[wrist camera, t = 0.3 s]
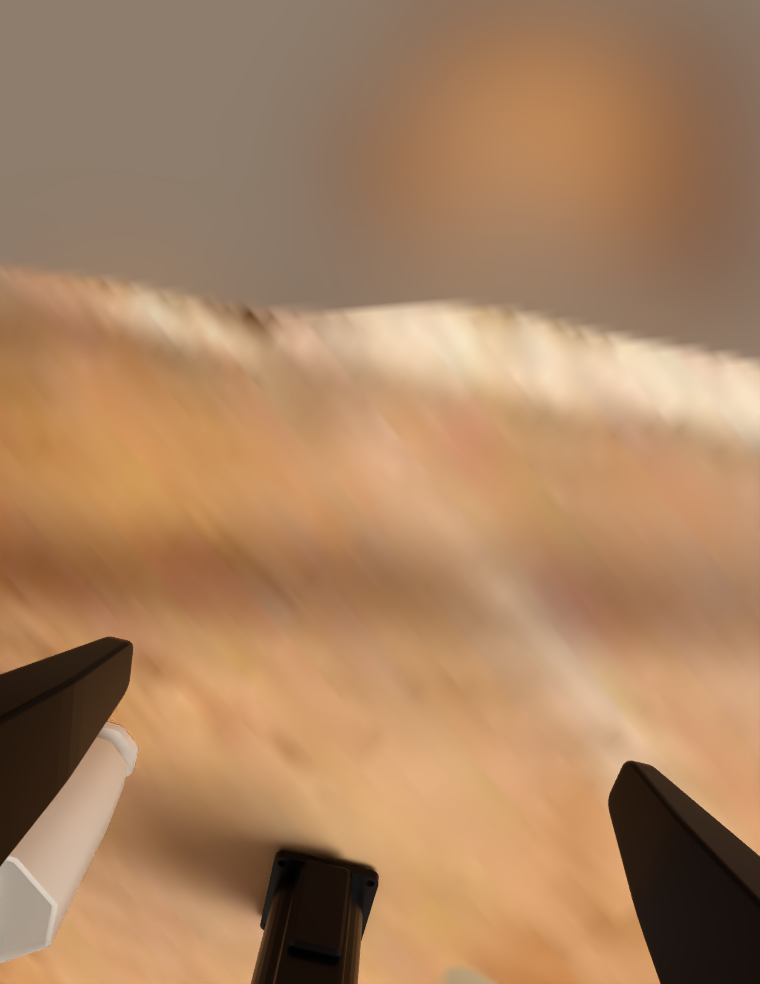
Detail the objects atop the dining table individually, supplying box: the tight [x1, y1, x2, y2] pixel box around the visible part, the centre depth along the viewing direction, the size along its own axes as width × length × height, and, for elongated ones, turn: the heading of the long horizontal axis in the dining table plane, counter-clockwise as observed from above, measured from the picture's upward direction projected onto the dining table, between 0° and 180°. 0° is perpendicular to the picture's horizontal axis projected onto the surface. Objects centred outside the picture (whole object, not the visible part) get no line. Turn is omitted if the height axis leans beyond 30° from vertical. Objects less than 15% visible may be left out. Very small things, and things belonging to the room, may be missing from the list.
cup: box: [0, 722, 139, 963], centre depth 22 cm, size 7×10×8 cm
